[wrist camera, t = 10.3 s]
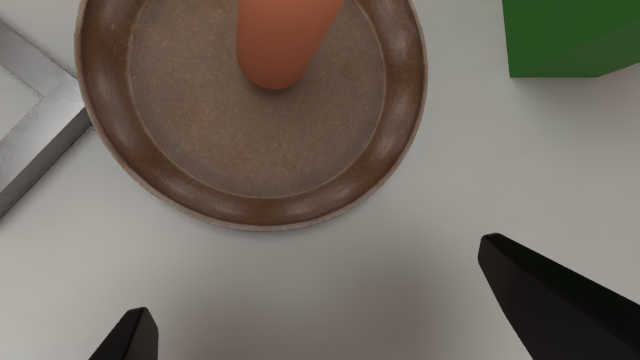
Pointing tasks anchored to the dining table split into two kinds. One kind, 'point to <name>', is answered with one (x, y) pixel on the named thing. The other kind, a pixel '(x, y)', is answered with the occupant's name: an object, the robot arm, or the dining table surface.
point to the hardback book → (571, 37)
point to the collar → (37, 118)
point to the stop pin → (281, 38)
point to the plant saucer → (251, 108)
